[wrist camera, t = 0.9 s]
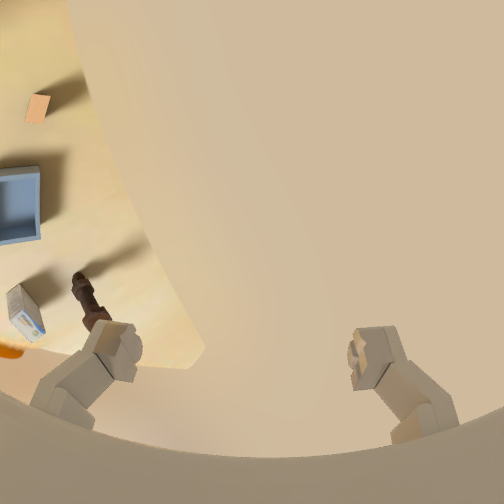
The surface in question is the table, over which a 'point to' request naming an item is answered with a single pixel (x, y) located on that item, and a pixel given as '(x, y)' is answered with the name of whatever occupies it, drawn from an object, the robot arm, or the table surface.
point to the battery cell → (37, 108)
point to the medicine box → (24, 314)
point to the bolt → (88, 301)
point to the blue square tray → (19, 204)
